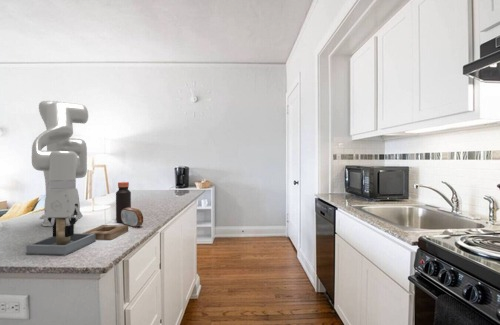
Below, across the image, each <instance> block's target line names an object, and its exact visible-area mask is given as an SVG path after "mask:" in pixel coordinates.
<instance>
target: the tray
mask: <svg viewBox="0 0 500 325" xmlns="http://www.w3.org/2000/svg"><path fill="white" fill-rule="evenodd" d="M96 241H97V240H96V234H89V233H84V232H81V233H80V232H79V233H78V232H77V233H76V232H74V235H72V236H70V243H68V244H64V245H56V237H53V235H51V236H48V237H47V238H43V239H41V240H37V241H35V242H32V243H29V244H27V245H25V247H26V248H25V252H26V253H25V254H26V255H37V256H40V255H41V256H42V255H43V256H68V255H70V254H72V253H74V252H77V251H78V250H80V249H83V248H85V247H86V246H87V247H88V246H89V245H91V244H93V243H95V242H96Z"/></svg>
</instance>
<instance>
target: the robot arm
mask: <svg viewBox="0 0 500 325" xmlns="http://www.w3.org/2000/svg"><path fill="white" fill-rule="evenodd" d="M38 112H39V115H40V117H41V119H42V121H43V122H44V126H45V128H46V129H45V131H43V132H42V133H40V134H39V135H38V136H37V137H35V139H34V141H32V144H31V166H32V167H33V169H34V170H36V171H39V172H43V176H44V182H45V183H44V184H45V198H44V211H43V213H44V214H42V215H41V216H40V217H39V220H43V222H41V226H42V227H52V236H53V237H56V219H57V218H65V219H66V224H67V226H65V237H69V236H72V235H74V233H75V225H76V223H77V221H78V220H80V219H82V218H83V214H82V212H81V211H80V210H81V209H80V208H81V205H80V196H79V191H78V188H77V187H76V183H77V180H76V179H81V178H85V176H87V173H88V160H87V159H88V157H87V156H88V147H87V142H86V140H84V139H82V138H72V136H73V134H74V126H73V123H74V124H84V125H85V124H87V122H88V120H89V110H88V108H87V107H86V106H85V105H84V104H80V103H79V104H78V103H71V102H65V101H58V100H56V101H55V100H42V101H40V102H39V104H38ZM45 147H46V150H42V149H44V148H45Z"/></svg>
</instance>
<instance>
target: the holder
mask: <svg viewBox="0 0 500 325" xmlns="http://www.w3.org/2000/svg"><path fill="white" fill-rule="evenodd" d="M127 232H128V233H129V226H128V225H125V224H124V225H121V224H120V225H119V224H118V225H117V224H115V225H114V224H102V225H99V226H96V227H94V228H91V229H89V230H87V231H84V232H83V233H89V234H96V241H97V240H98V241H99V240H101V241H102V240H104V241H112V240H114V239H116V238H118V237H120V236H122V235H124V234H125V233H127Z"/></svg>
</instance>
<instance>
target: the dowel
mask: <svg viewBox="0 0 500 325" xmlns="http://www.w3.org/2000/svg"><path fill="white" fill-rule="evenodd" d="M65 226H67V224H66V219H65V218H57V219H56V245H64V244H68V243H70V236H69V237H65Z"/></svg>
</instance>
